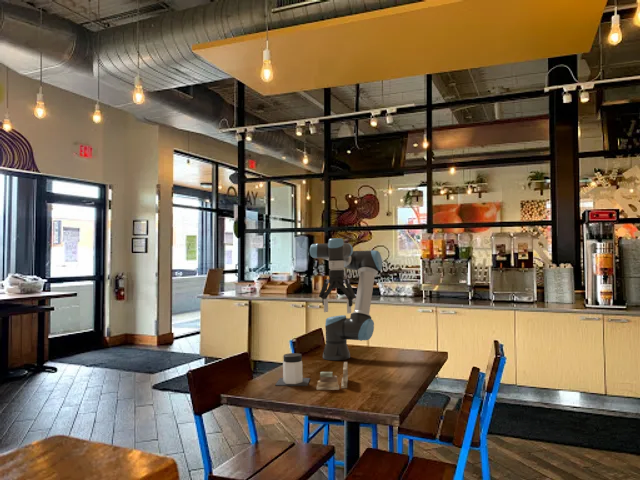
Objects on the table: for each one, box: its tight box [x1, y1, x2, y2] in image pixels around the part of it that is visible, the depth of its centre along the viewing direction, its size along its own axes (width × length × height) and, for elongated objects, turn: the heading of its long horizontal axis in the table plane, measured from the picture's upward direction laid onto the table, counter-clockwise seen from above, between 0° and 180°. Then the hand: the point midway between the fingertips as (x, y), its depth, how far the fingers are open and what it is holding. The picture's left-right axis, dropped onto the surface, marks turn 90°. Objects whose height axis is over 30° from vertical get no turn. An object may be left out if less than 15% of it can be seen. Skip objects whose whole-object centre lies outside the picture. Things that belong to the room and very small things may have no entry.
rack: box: [315, 361, 349, 391], centre depth 208 cm, size 13×17×8 cm
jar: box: [282, 352, 304, 384], centre depth 212 cm, size 9×8×12 cm
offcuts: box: [317, 371, 339, 387], centre depth 201 cm, size 8×3×6 cm, turn 85°
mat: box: [275, 377, 311, 387], centre depth 213 cm, size 14×12×1 cm
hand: (337, 312), depth 235 cm, fingers open, 13 cm apart
